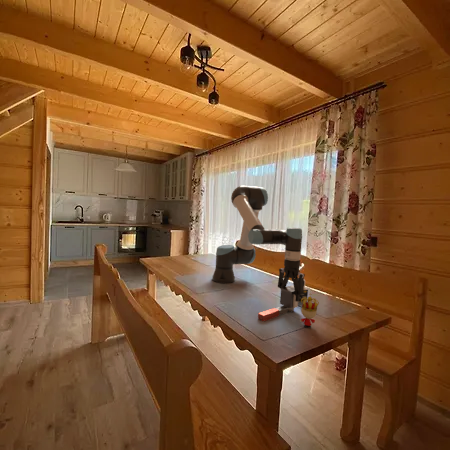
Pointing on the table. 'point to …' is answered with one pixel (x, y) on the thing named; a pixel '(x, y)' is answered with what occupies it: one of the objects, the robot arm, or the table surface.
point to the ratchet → (274, 312)
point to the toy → (308, 310)
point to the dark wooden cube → (287, 296)
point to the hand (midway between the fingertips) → (289, 304)
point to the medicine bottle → (304, 292)
